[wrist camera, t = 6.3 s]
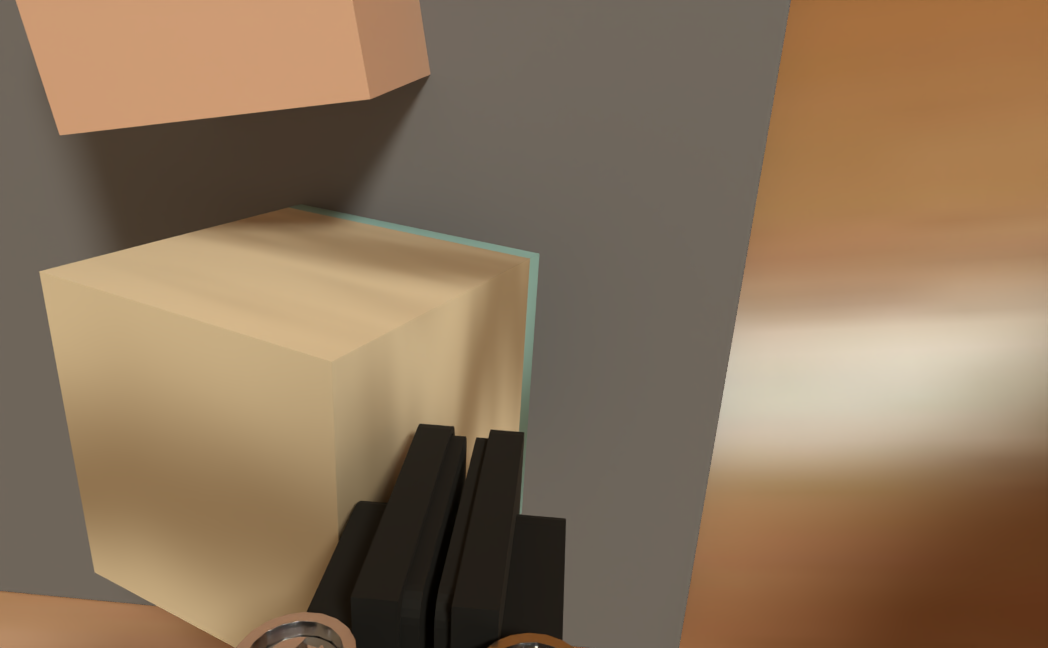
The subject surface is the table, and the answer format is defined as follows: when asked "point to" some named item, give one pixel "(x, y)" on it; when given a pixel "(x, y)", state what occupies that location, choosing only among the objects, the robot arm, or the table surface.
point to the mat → (464, 211)
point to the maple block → (273, 393)
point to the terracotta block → (216, 56)
